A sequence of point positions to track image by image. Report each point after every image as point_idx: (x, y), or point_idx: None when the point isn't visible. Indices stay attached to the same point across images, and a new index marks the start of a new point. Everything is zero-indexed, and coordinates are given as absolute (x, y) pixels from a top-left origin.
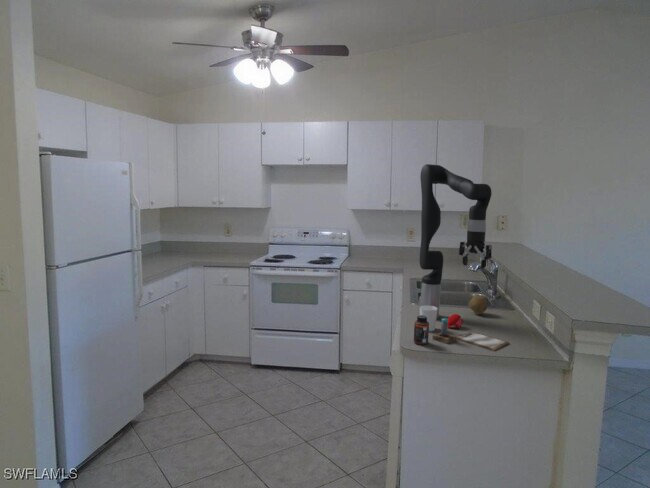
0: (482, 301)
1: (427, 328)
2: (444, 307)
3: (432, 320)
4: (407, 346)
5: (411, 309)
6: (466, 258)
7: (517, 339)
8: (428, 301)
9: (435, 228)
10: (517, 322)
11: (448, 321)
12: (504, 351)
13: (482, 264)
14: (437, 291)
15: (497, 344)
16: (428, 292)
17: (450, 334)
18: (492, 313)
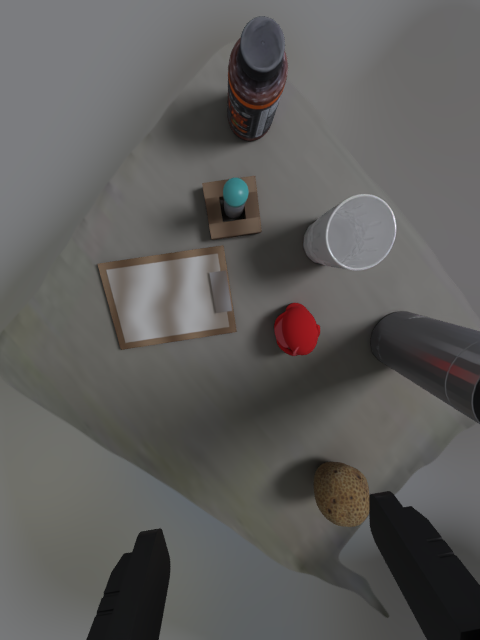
0: (326, 500)
1: (228, 82)
2: (422, 439)
3: (313, 230)
4: None
5: None
6: (436, 628)
7: (136, 393)
8: (430, 330)
9: None
10: (227, 497)
11: (303, 309)
12: (85, 287)
13: (123, 589)
14: (443, 375)
15: (121, 305)
16: (465, 340)
17: (230, 234)
18: (310, 503)
